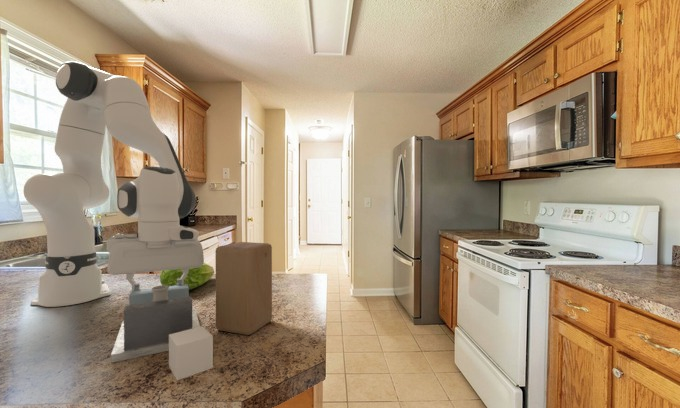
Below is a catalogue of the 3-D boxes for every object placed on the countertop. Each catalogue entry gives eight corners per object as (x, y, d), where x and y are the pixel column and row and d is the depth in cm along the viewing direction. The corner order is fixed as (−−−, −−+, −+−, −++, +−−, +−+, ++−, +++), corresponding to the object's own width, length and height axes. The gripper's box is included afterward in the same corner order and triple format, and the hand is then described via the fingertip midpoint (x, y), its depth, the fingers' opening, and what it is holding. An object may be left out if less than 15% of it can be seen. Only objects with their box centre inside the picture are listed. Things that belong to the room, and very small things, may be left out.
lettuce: (230, 265, 122) (206, 246, 123) (196, 277, 97) (167, 253, 99) (212, 289, 122) (188, 270, 123) (174, 307, 97) (145, 283, 99)
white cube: (202, 356, 61) (202, 325, 61) (212, 368, 56) (213, 335, 56) (168, 366, 57) (168, 334, 57) (177, 380, 52) (177, 346, 52)
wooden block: (273, 320, 78) (273, 242, 78) (249, 337, 69) (249, 248, 69) (240, 316, 82) (240, 241, 81) (214, 331, 72) (213, 246, 72)
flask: (185, 326, 71) (185, 283, 71) (164, 339, 64) (163, 292, 64) (157, 324, 72) (157, 282, 72) (133, 337, 65) (132, 291, 65)
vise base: (122, 327, 74) (122, 288, 74) (195, 314, 82) (195, 279, 82) (110, 362, 58) (110, 313, 58) (202, 343, 66) (202, 299, 66)
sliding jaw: (131, 324, 72) (130, 291, 72) (187, 314, 78) (187, 284, 78) (129, 330, 69) (129, 295, 69) (188, 319, 75) (188, 288, 74)
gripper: (104, 235, 67) (103, 298, 68) (205, 232, 78) (204, 286, 78) (108, 232, 73) (108, 290, 73) (202, 230, 83) (201, 280, 83)
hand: (158, 288), depth 76 cm, fingers open, 8 cm apart
